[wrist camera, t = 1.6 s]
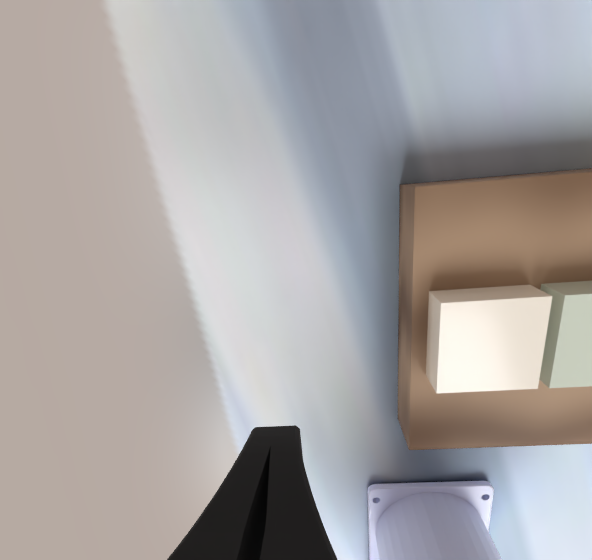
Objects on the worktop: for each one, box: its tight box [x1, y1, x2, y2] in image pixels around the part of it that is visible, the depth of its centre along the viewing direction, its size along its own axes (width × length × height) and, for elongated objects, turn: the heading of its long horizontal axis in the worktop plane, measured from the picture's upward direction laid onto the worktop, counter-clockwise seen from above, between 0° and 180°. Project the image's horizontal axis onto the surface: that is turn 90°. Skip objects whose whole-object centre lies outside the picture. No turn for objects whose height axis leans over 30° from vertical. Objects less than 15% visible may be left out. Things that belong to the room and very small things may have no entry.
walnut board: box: [398, 168, 592, 450], centre depth 17 cm, size 14×11×2 cm
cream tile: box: [426, 285, 552, 393], centre depth 15 cm, size 4×4×2 cm
